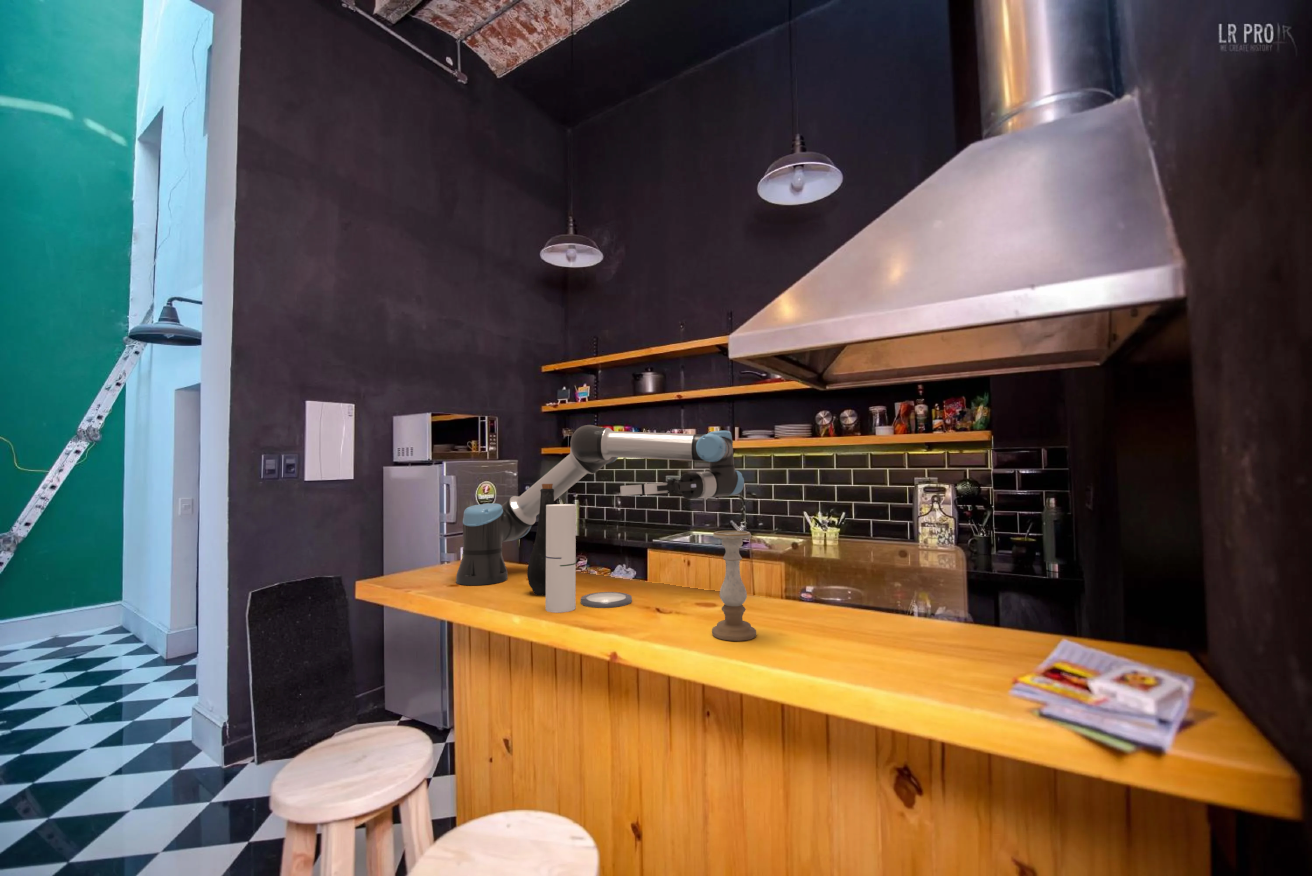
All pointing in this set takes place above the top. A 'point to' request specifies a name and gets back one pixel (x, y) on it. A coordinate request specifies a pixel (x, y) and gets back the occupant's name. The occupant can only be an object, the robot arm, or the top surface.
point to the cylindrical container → (560, 558)
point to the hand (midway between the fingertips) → (632, 490)
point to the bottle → (540, 545)
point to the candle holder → (733, 591)
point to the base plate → (606, 599)
